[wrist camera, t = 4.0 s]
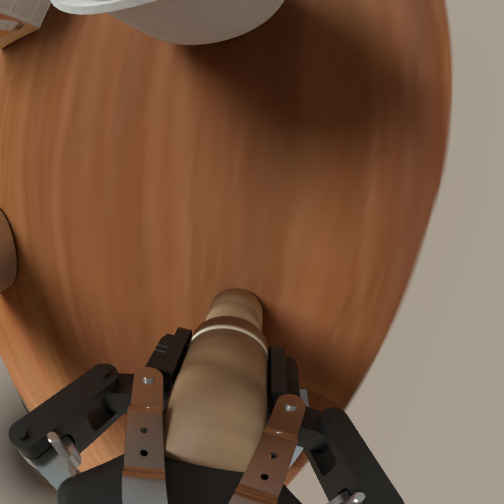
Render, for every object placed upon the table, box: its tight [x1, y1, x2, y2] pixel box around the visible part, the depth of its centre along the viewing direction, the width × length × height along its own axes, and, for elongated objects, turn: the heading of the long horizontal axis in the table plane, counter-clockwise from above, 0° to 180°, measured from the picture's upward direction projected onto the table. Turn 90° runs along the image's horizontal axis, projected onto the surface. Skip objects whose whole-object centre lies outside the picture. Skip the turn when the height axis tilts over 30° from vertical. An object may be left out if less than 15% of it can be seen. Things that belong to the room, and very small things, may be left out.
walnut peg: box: [163, 289, 269, 472], centre depth 12 cm, size 4×4×12 cm
